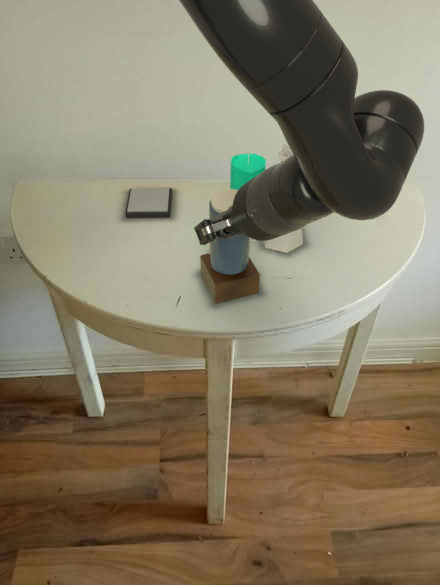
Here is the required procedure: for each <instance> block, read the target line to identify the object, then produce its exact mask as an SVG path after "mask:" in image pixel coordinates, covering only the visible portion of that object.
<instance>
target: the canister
mask: <svg viewBox="0 0 440 585" xmlns="http://www.w3.org/2000/svg"><path fill="white" fill-rule="evenodd" d="M237 191H238V190H237V189H230V188H224V189H221V190H218V191H216V192H215V193H213V194H212V196H211V197H210V199H209V203H208V204H209V206H208V209H209V210H208V212H209V213H208V216H209V218H208V219H210V220H212V221H214V217H215V215H218V214H220V213H222V212H224V211H226V210H228V209H229V207H230V206H232V205H233V200H234V197H235V195H236V193H237ZM237 231H238V230H237ZM233 232H235V231H233ZM233 232H231V233H233ZM217 234H218V235H219V231H217ZM250 245H251V238H250V237H248V236H247V235H245V234H244V235H241V236H238V235H237V236H234V237H232V238H229V239H226V240H222V239H221V238H219V239H217V241H215V242H213V241H212V242H209V253H210V265H211V267H212V268H213V269H214V270H215V271H217V272H219V273H222V274H227V275H232V274H237V273H240V272H242V271H244V270H245V269H246V268H247V266H248V263H249V257H250V248H251V247H250Z"/></svg>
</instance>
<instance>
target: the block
mask: <svg viewBox="0 0 440 585" xmlns="http://www.w3.org/2000/svg"><path fill="white" fill-rule="evenodd" d="M199 258H200V275H201V277H202V279H203V282H204V284H205V286H206V288H207V290H208V292H209V294H210V296H211V298H212V300H213V302H214V304H215V305H217V304H222V303H225V302H229V301H232V300H237V299H242V298H244V297H248V296H252V295H256V294H258V293H259V291H260V290H259V289H260V279H261V278H260V277H261V275H260V272H259V271H258V269H257V267H256V266H255V264H254V262H253V260H252V259H251V257H250V256H249V263H248V266H247V268H246V269H245V270H244V271H242V272H240V273H237V274H232V275H227V274H222V273H219V272H217V271H215V270H214V269H213V268H212V267H211V265H210V252H209V253H206V254H201V255H200V256H199Z"/></svg>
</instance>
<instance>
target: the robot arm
mask: <svg viewBox="0 0 440 585" xmlns="http://www.w3.org/2000/svg"><path fill="white" fill-rule="evenodd" d="M178 1H179V3H180V4H181V5H182V7H183V8H184V10H185V11H186V14H188V16H189V17H190V19H191V20H192V22H193V24H194V25H195V26H196V28H197V30H198V31H199V32H200V34H201V35H202V37H203V38H204V39H205V41H206V42H207V44H208V45H209V46H210V48H211V50H212V51H213V52H214V53H215V54H216V56H217V57H218V58H219V60H220V61H221V62H222V64H223V65H224V66H225V67H226V68H227V69H228V71H229V72H230V73H231V74H232V75H233V76H234V78H235V79H236V80H237V81H238V82H239V83H240V84H241V85H242V86H243V87H244V88H245V89H246V90H247V92H248V93H249V94H250V95H251V96H252V98H254V99H255V100H256V101H257V102H258V104H260V106H262V108H263V109H264V110H265V111H266V112H267V113H268V114H269V115H270V116H271V117H272V118H273V120H275V122H276V123H277V125H278V126H279V128H280V130H281V132H282V134H283V137H284V139H285V141H286V143H287V146H289V147H290V149H291V151H292V153H293V155H292V156H290V157H288V158H287V159H285V160H284V161H282V162H281V161H280V162H279V163H276V164H273V165H272V166H270V167H268V168H265V171H263V172H262V173H260V174H259V175H257V176H256V177H254V178H253V179H251V180H250V181H248V182H247V183H245V184H244V185H243V186H241V187H240V189H239V190H238V191H237V193H236V195H235V197H234V200H233V205H232V206H230V207H229V209H228V210H226V211H224V212H222V213H220V214H218V215H215V217H214V221H212V220H210V219H209V218H208V219H207V218H205V219H203V220H202V221H200V222H199V223H197V225H196V226H194V227H193V230H194V232H195V233H196V234H195V235H196V236H197V239H198V243H199V245H200V246H205V245H207V244H210V242H212V241H213V242H215V241H217V239H219V238H221V239H222V240H226V239H229V238H232V237H234V236H237V235H238V236H241V235H244V234H245V235H247V236H248V237H250V239H252V240H255V241H260V242H263V241H268V240H271V239H274V238H277V237H280V236H282V235H285V234H288V233H290V232H293V231H296V230H298V229H301V228H302V229H303V228H304V227H306V226H308V224H310V223H313V222H316V221H318V220H322V219H323V218H324V219H325V218H326V217H328V216H329V217H330V216H331V215H332V214H334V213H335V214H337V215H339V216H340V217H343V218H346V219H350V220H355V221H369V220H374V219H377V218H379V217H381V216H383V215H385V214H386V213H387V212H388V211H390V210H391V208H392V207H393V206H394V204H395V203H396V202H397V199H398V198H399V195H400V193H401V192H402V189H403V186H404V185H405V182H406V179H407V177H408V175H409V172H410V170H411V168H412V165H413V163H414V161H415V158H416V156H417V155H418V152H419V151H420V150H419V149H420V147H421V145H422V142H423V139H424V134H425V118H424V115H423V113H422V111H421V109H420V107H419V105H418V104H417V103H416V101H415V100H413V99H412V98H411V97H409V96H407V95H405V94H404V93H401V92H399V91H395V90H388V89H382V90H381V89H379V90H372V91H368V92H365V93H361V94H359V95H356V94H357V93H356V92H357V87H358V81H359V68H358V64H357V62H356V59H355V57H354V55H353V54H352V53H351V51H350V49H349V48H348V47H347V45H346V44H345V42H344V41H343V39H342V38H341V37H340V35H339V34H338V32H337V31H336V30H335V28H334V27H333V25H332V24H331V23H330V22H329V20H328V19H327V18H326V16H325V15H324V13H323V12H322V11H321V10H320V8H319V7H318V5H317V4H316V3H315V1H314V0H178ZM237 230H238V231H237ZM217 231H219V235H218V234H217ZM233 231H235V232H233ZM231 232H233V233H231Z"/></svg>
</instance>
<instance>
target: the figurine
mask: <svg viewBox="0 0 440 585" xmlns="http://www.w3.org/2000/svg"><path fill="white" fill-rule="evenodd" d="M281 146H282V147H281V150H280V151H278V153H277V158H278V159H279V161H280V162H281V161H284V160H285V159H287V158H288V157H290V156H292V155H293V153H292V151H291V149H290V147H289V145H288V144H286V143H285V144H284V143H282V144H281ZM303 240H304V238H303V227H302V228H301V229H298V230H296V231H293V232H290V233H288V234H285V235H282V236H280V237H277V238H274V239H271V240H268V241H262V243H263V246H264V248H265V249H269V250H274V251H278V252H282V253H285V254H288V253H290V252H292V251H294V250H295V249H297V248H298V247H300V246H302V245H303V244H304V241H303Z"/></svg>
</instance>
